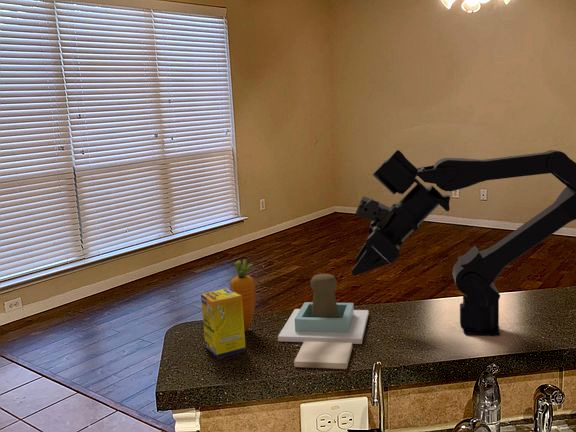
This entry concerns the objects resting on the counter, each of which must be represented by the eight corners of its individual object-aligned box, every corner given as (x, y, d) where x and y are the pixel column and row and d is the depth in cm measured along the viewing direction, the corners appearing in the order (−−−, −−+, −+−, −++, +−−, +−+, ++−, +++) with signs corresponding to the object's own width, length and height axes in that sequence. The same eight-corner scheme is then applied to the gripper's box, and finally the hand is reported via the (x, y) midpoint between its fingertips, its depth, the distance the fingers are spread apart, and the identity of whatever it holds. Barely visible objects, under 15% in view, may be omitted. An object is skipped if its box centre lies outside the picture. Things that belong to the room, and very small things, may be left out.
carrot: (247, 324, 120) (242, 255, 118) (263, 329, 117) (258, 258, 114) (228, 331, 117) (223, 260, 114) (244, 337, 113) (239, 263, 111)
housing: (368, 314, 122) (368, 298, 121) (361, 343, 106) (360, 326, 106) (295, 313, 125) (294, 297, 125) (278, 341, 110) (277, 323, 109)
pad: (352, 347, 105) (352, 342, 105) (346, 369, 96) (346, 363, 96) (304, 346, 107) (304, 341, 107) (294, 366, 98) (294, 361, 98)
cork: (340, 321, 119) (338, 270, 117) (340, 332, 113) (338, 278, 111) (311, 322, 119) (309, 271, 117) (309, 333, 113) (307, 279, 111)
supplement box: (204, 349, 108) (199, 293, 107) (233, 341, 111) (229, 287, 109) (216, 359, 103) (211, 301, 101) (246, 351, 106) (242, 294, 104)
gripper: (381, 177, 118) (330, 230, 122) (378, 188, 100) (318, 250, 104) (421, 213, 118) (368, 266, 122) (425, 232, 100) (363, 292, 104)
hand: (354, 267), depth 113 cm, fingers open, 9 cm apart
